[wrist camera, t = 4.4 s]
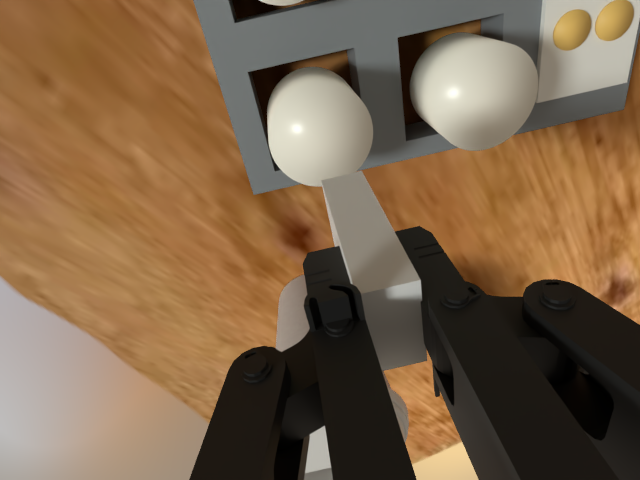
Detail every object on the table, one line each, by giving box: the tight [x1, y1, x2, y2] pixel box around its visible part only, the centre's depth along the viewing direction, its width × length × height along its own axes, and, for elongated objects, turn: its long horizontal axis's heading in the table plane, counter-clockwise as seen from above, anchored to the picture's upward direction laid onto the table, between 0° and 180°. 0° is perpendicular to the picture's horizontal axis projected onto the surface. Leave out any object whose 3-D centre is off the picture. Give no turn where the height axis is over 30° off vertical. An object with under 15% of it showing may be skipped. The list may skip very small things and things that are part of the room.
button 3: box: [410, 32, 538, 151], centre depth 24 cm, size 6×6×4 cm
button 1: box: [267, 67, 373, 186], centre depth 24 cm, size 6×6×4 cm
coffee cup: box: [276, 275, 409, 480], centre depth 32 cm, size 10×10×15 cm
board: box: [193, 0, 640, 195], centre depth 25 cm, size 18×26×4 cm
